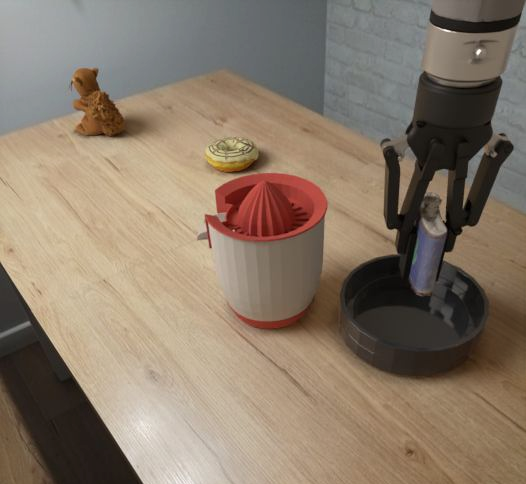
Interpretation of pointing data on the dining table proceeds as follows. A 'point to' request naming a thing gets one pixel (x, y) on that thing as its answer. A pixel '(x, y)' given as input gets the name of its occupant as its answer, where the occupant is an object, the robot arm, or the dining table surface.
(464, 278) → the bowl
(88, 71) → the stuffed squirrel
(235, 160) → the decorated donut
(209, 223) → the citrus juicer
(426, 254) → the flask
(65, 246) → the dining table surface
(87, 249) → the dining table surface
